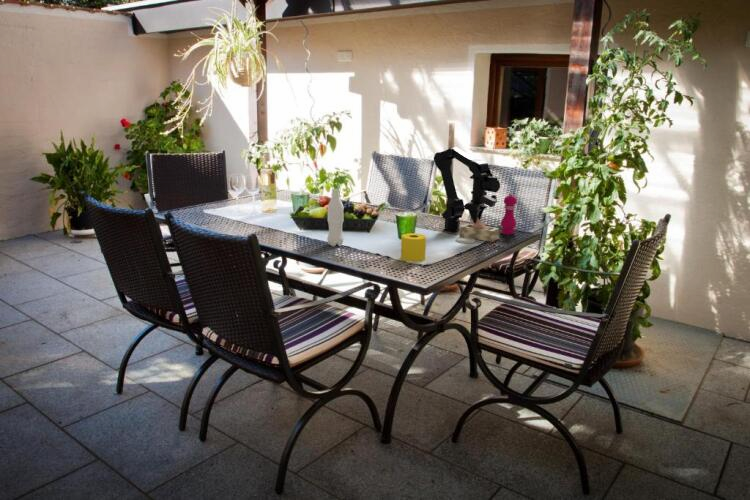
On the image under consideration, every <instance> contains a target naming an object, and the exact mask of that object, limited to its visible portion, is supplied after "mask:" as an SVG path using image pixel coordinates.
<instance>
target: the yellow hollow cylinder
mask: <svg viewBox="0 0 750 500" xmlns="http://www.w3.org/2000/svg"><path fill="white" fill-rule="evenodd" d="M400 240H401V242H400V245H401V246H400V248H401V249H400V259H401V260H402V261H404V262H409V261H411V263H417V261H419V262H423V261H425V260H426V246H427V245H426V244H427V243H426V242H427V236H426V235H424V234H422V233H416V232H415V233H413V232H412V233H411V232H410V233H404V234H402V235H401V238H400Z"/></svg>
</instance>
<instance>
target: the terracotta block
mask: <svg viewBox="0 0 750 500" xmlns="http://www.w3.org/2000/svg"><path fill="white" fill-rule="evenodd" d="M470 224H473V225H474V226H475V227H476V228H478V229H485V230H489V229H488V228H487V227H486V226H487V225H486V224H485V223H484V222H483V221H482V220H481V219H479V218H477V222H476V223H474V222H473V219H472V218H471V221H470Z"/></svg>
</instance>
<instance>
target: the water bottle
mask: <svg viewBox="0 0 750 500" xmlns="http://www.w3.org/2000/svg"><path fill="white" fill-rule="evenodd" d="M331 191H332V192H331V199H330V200H329V203H328V204H327V223H328V235H327V239H326V240H327V244H328V245H329V246H331V247H336V245H337V247H341V246H342V245H343V243H344V240H345V239H344V238H345V237H344V235H343V223H344V221H345V220H344V210H345V207H344V204H343V202H342V200H341V197H340V189H339V188H332V190H331Z"/></svg>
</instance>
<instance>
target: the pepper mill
mask: <svg viewBox="0 0 750 500" xmlns="http://www.w3.org/2000/svg"><path fill="white" fill-rule="evenodd" d="M517 200H518V199H517V198H516V196H514V194H513V192H511V191H510V192H509V193H508V195H506V196H505V197H504V199H503V204H504V209H505V210H504V216H503V217H502V219H501V222H500V226H501V233H502V234H503V235H514V234H515V227H516V226H517V221H516V218H515V215H514V210H516V206H515V205H516V204H517Z"/></svg>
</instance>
